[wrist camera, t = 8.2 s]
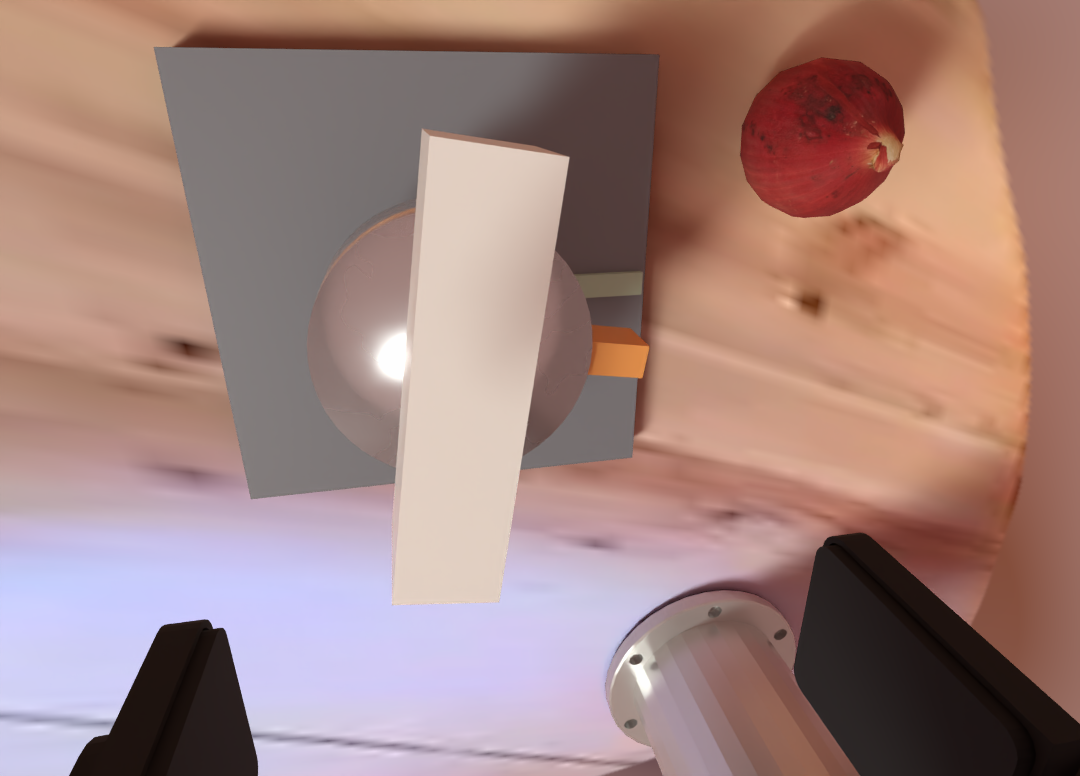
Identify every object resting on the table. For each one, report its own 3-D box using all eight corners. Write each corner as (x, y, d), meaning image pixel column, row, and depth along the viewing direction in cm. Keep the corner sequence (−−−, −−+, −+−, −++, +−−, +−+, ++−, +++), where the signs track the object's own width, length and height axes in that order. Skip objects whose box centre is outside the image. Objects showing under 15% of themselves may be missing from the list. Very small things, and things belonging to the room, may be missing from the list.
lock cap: (659, 162, 22) (763, 186, 16) (592, 484, 27) (652, 598, 21) (320, 109, 20) (288, 114, 13) (313, 478, 25) (286, 607, 18)
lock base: (622, 443, 34) (662, 501, 29) (257, 481, 30) (231, 555, 25) (645, 56, 26) (704, 47, 22) (167, 50, 23) (106, 36, 18)
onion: (682, 134, 28) (782, 147, 21) (782, 31, 27) (923, 6, 20) (755, 228, 30) (866, 268, 23) (849, 136, 30) (995, 147, 22)
